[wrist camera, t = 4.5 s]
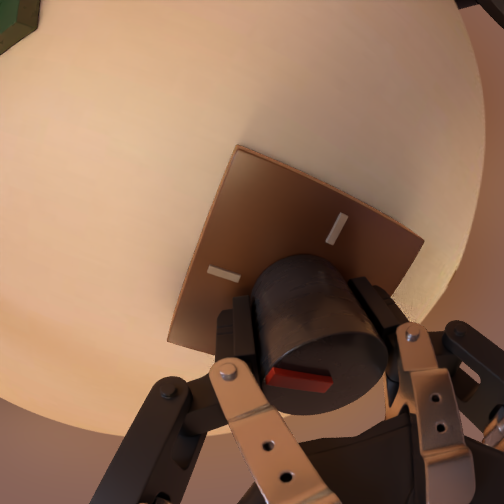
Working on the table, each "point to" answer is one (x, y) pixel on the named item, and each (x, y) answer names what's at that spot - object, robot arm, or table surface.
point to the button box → (17, 21)
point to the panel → (281, 240)
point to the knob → (313, 338)
